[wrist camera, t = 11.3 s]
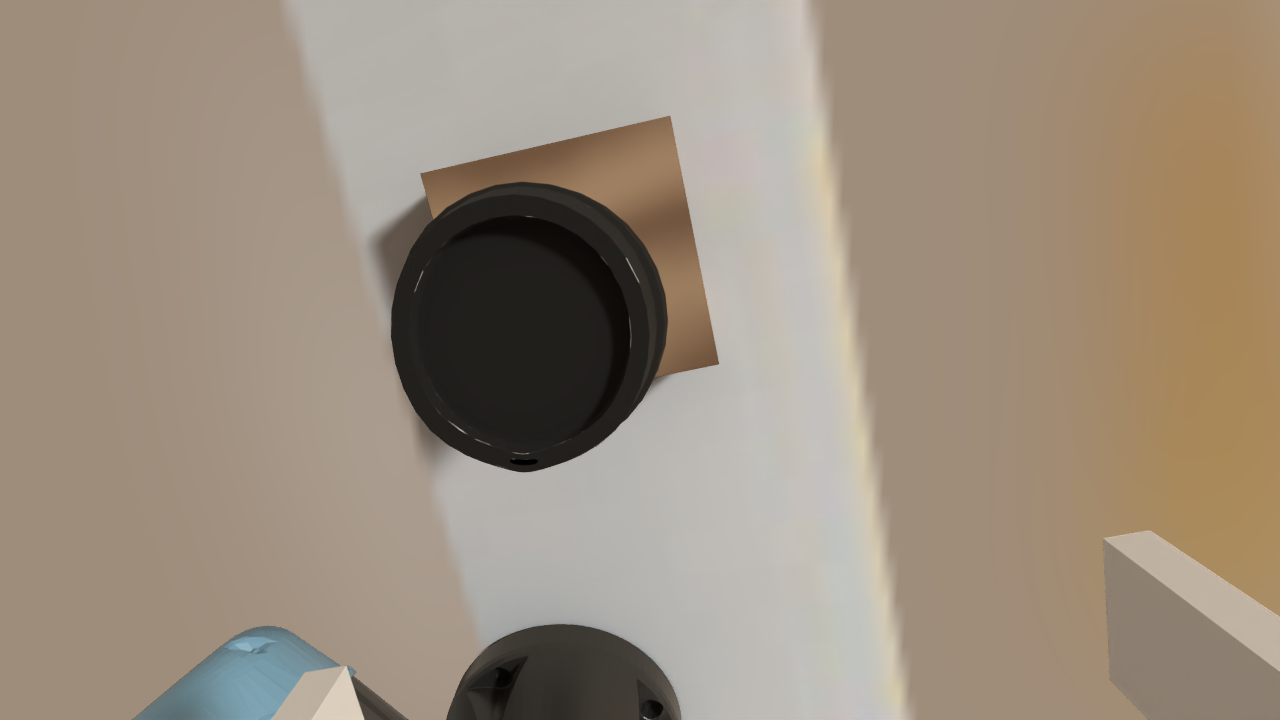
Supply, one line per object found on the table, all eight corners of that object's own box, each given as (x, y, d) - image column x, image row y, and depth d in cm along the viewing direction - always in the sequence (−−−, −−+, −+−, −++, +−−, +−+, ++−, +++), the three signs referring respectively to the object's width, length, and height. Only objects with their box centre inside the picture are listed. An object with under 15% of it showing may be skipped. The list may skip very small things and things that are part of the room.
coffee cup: (496, 358, 35) (381, 481, 20) (485, 184, 33) (348, 182, 18) (664, 357, 35) (669, 481, 20) (663, 182, 33) (669, 179, 18)
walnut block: (711, 342, 40) (718, 364, 35) (507, 384, 40) (487, 411, 36) (668, 125, 37) (670, 115, 32) (450, 175, 38) (420, 173, 33)
